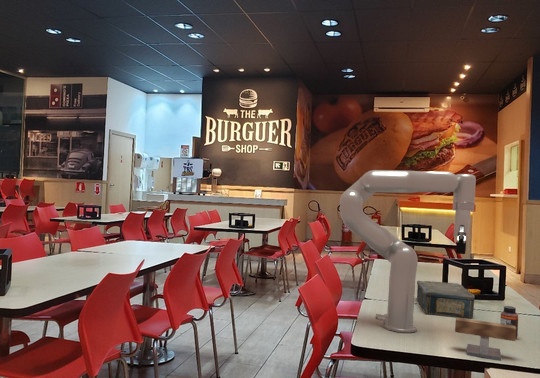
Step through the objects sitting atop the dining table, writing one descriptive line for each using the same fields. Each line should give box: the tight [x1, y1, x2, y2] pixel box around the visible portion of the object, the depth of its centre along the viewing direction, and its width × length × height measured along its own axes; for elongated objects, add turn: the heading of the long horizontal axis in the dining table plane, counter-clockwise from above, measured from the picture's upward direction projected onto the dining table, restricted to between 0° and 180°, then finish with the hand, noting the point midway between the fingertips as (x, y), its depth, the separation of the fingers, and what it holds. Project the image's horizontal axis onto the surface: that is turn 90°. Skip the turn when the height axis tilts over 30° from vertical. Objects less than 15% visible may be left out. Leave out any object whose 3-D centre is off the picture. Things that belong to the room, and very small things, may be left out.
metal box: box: [416, 280, 476, 319], centre depth 225 cm, size 21×32×10 cm, turn 170°
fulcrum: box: [466, 336, 502, 362], centre depth 161 cm, size 10×10×6 cm
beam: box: [454, 317, 517, 342], centre depth 161 cm, size 18×4×4 cm, turn 67°
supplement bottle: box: [499, 305, 519, 339], centre depth 182 cm, size 6×6×11 cm
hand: (460, 252), depth 184 cm, fingers open, 9 cm apart
